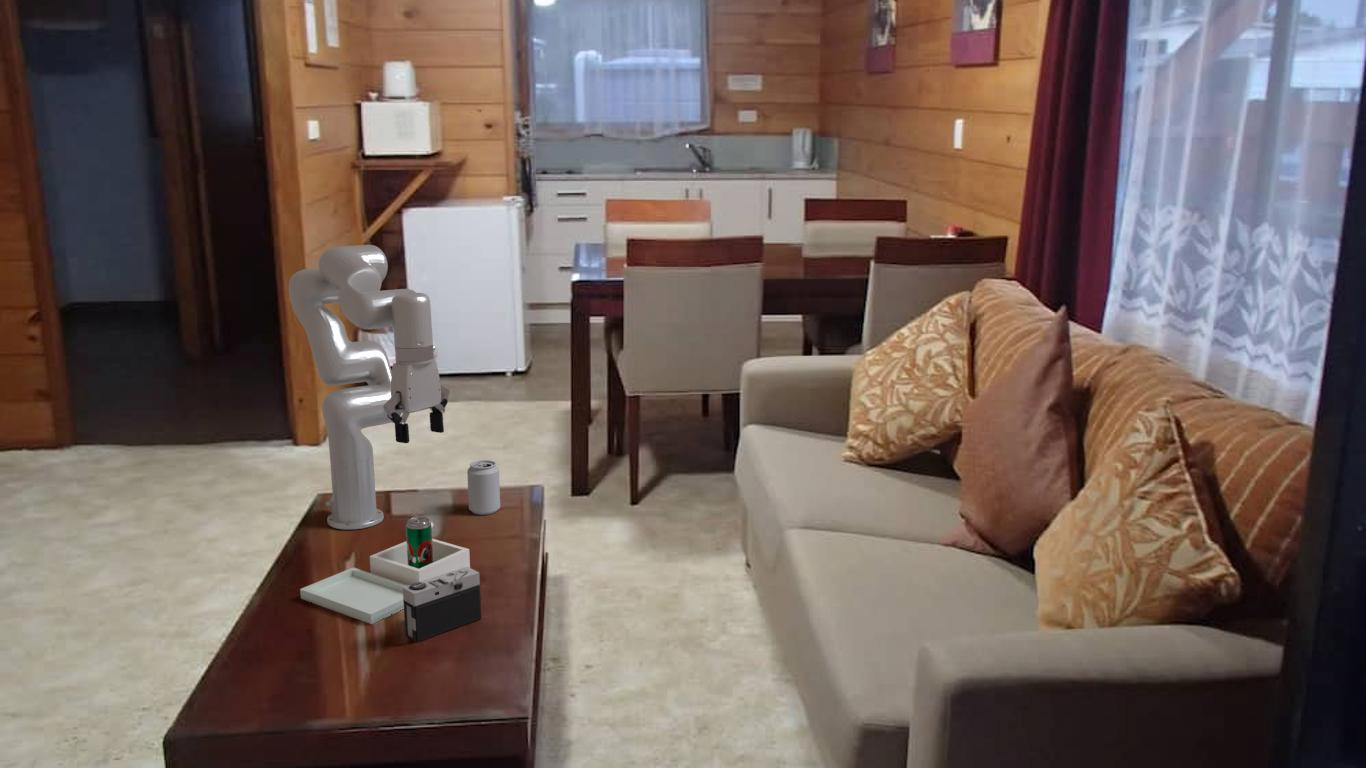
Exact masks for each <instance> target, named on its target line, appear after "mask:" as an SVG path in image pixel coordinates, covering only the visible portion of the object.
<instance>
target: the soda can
mask: <svg viewBox="0 0 1366 768" xmlns="http://www.w3.org/2000/svg"><path fill="white" fill-rule="evenodd" d="M406 522H407V523H406V525H405V537H406V540H405V542H406V541H407V560H408V566H412V567H415V568H418V569H420V568H422V567H424V566H427V565H429V564H431V563H433V549H432V539H433V531H432V529H433V528H432V522H431V521H430V519H429V518H428V517H425V516H416V517H411V518H409V519H408V520H407V521H406Z"/></svg>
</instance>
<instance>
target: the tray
mask: <svg viewBox="0 0 1366 768" xmlns="http://www.w3.org/2000/svg"><path fill="white" fill-rule="evenodd" d="M405 586H408V585H406V584H403V583H400V582H397V581H394V580H391V579H388V578H385V577H381V576H378V575H375V574H372V573H371V572H368V571H365V570H364V569H363V570H362V569H360V568H357V567H351V568H349V569H346V570H344V571H340V572H339V573H336V574H334V575H332V576H329V577H326V578H324V579H321V580H318V581H317V582H314V583H312V584H309V585H307V586H304V587H302V588H300V589H299V591H300V599H301V600H303V601H306V602H309V603H311V602H312V604H315V605H317V606H320V607H323V608H325V609H328V610H331V611H334V612H336V613H338V614H339V613H340V614H341V615H344V616H348V617H350V618H354V619H356V620H358V621H362V622H364V623H367V624H370V625H373V624H375V623H377V622H380V621H381V619H382V620H384V619H385V618H388V617H390V616H392V615H394V614H396V613H398V612H401V611H402V609H403V610H404V602H403V587H405ZM400 610H401V611H400ZM391 614H392V615H391ZM383 618H384V619H383Z"/></svg>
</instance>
